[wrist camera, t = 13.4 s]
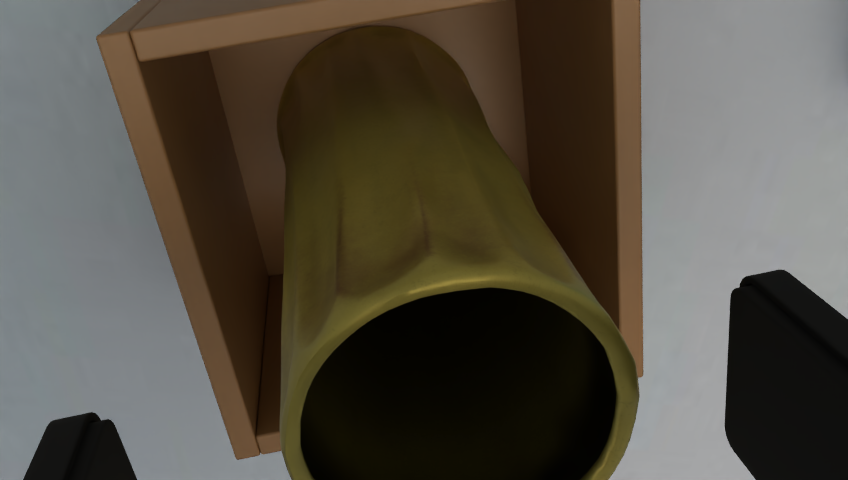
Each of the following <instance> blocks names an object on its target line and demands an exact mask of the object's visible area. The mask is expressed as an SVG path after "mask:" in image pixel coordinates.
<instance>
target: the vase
mask: <svg viewBox="0 0 848 480" xmlns="http://www.w3.org/2000/svg"><path fill="white" fill-rule="evenodd" d="M277 135H278V141H279V146H280V149H281V153H282V156H283V159H284V163H285V166H286V184H285V203H284V275H283V301H282V321H281V402H280V444H281V450H282V454H283V457H284V460H285V464H286V467H287V470H288V472H289V475H290V477H291V479H292V480H608V479H609V478H610V476H611V475H612V474H613V472H614V471H615V469H616V468H617V466H618V464H619V462H620V461H621V459H622V457H623V456H624V453H625V451H626V448H627V446H628V443H629V441H630V438H631V434H632V430H633V427H634V423H635V419H636V413H637V407H638V402H639V386H638V374H637V368H636V362H635V360H634V358H633V356H632V354H631V352H630V350H629V348H628V346H627V344H626V342H625V340H624V338H623V336H622V335H621V333H620V332H619V330H618V328H617V327H616V325H615V324H614V322H613V321H612V319H611V317H610V316H609V314H608V313H607V312H606V311H605V310H604V308H603V307H602V306H601V305H600V304H599V302H598V301H597V300H596V298H595V297H594V295H593V294H592V293H591V291H590V290H589V288H588V287H587V285H586V284H585V282H584V280H583V279H582V277H581V276H580V274H579V273H578V271H577V270H576V269H575V267H574V265H573V264H572V262H571V261H570V259H569V258H568V256H567V255H566V253H565V252H564V250H563V248H562V247H561V245H560V244H559V242H558V241H557V239H556V238H555V236H554V235H553V234H552V232H551V231H550V229H549V228H548V226H547V225H546V223H545V222H544V221H543V219H542V218H541V216H540V215H539V213H538V212H537V210H536V207H535V205H534V203H533V200H532V198H531V196H530V193H529V191H528V189H527V187H526V185H525V183H524V181H523V179H522V176H521V174H520V172H519V170H518V169H517V167H516V166H515V165H514V163H513V162H512V161H511V159H510V158H509V157H508V155H507V154H506V153H505V151H504V150H503V149H502V147H501V146H500V145H499V143H498V142H497V141H496V140H495V138H494V136H493V134H492V132H491V130H490V128H489V126H488V124H487V122H486V119H485V117H484V114H483V112H482V109H481V107H480V105H479V103H478V101H477V99H476V97H475V95H474V93H473V92H472V90H471V87H470V85H469V83H468V80H467V78H466V76H465V74H464V72H463V70H462V69H461V68H460V67H459V65H458V64H457V62H456V61H455V60H454V59H453V58H452V57H451V56H450V55H449V54H448V53H447V52H446V51H444V50H443V49H442V48H441V47H439V46H438V45H437V44H435V43H434V42H432V41H431V40H429V39H427V38H426V37H424V36H422V35H420V34H418V33H415V32H413V31H410V30H406V29H402V28H397V27H389V26H370V27H362V28H356V29H352V30H348V31H345V32H342V33H340V34H337V35H335V36H333V37H331V38H329V39H328V40H326V41H324V42H323V43H321V44H320V45H318V46H317V47H315V48H314V49H313V50H312V51H311V52H309V53H308V54H307V55H306V56H305V57H304V58H303V59H302V60H301V62H300V63H299V64H298V65H297V67H296V68H295V69H294V71H293V73H292V74H291V76H290V78H289V80H288V81H287V83H286V86H285V88H284V91H283V93H282V96H281V100H280V103H279V108H278V114H277Z"/></svg>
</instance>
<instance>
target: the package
mask: <svg viewBox="0 0 848 480" xmlns="http://www.w3.org/2000/svg"><path fill="white" fill-rule="evenodd" d="M370 26H389V27H397V28H402V29H406V30H410V31H413V32H415V33H418V34H420V35H422V36H424V37H426V38H427V39H429V40H431V41H432V42H434V43H435V44H437V45H438V46H439V47H441V48H442V49H443V50H444V51H446V52H447V53H448V54H449V55H450V56H451V57H452V58H453V59H454V60H455V61H456V62H457V64H458V65H459V67H460V68H461V69H462V70H463V72H464V74H465V76H466V78H467V80H468V83H469V85H470V87H471V90H472V92H473V93H474V95H475V97H476V99H477V101H478V103H479V105H480V107H481V109H482V112H483V114H484V117H485V119H486V122H487V124H488V126H489V128H490V130H491V132H492V134H493V136H494V138H495V140H496V141H497V142H498V143H499V145H500V146H501V147H502V149H503V150H504V151H505V153H506V154H507V155H508V157H509V158H510V159H511V161H512V162H513V163H514V165H515V166H516V167H517V169H518V170H519V172H520V174H521V176H522V179H523V181H524V183H525V185H526V187H527V189H528V191H529V193H530V196H531V198H532V200H533V203H534V205H535V207H536V210H537V212H538V213H539V215H540V216H541V218H542V219H543V221H544V222H545V223H546V225H547V226H548V228H549V229H550V231H551V232H552V234H553V235H554V236H555V238H556V239H557V241H558V242H559V244H560V245H561V247H562V248H563V250H564V252H565V253H566V255H567V256H568V258H569V259H570V261H571V262H572V264H573V265H574V267H575V269H576V270H577V271H578V273H579V274H580V276H581V277H582V279H583V280H584V282H585V284H586V285H587V287H588V288H589V290H590V291H591V293H592V294H593V295H594V297H595V298H596V300H597V301H598V302H599V304H600V305H601V306H602V307H603V308H604V310H605V311H606V312H607V313H608V314H609V316H610V317H611V319H612V321H613V322H614V324H615V325H616V327H617V328H618V330H619V332H620V333H621V335H622V336H623V338H624V340H625V342H626V344H627V346H628V348H629V350H630V352H631V354H632V356H633V358H634V360H635V362H636V368H637V374H638V378H639V377H642V376H643V297H642V171H641V45H640V0H140V1H139V2H138V3H136V4H135V5H134V6H133V7H132V8H130V9H129V10H128V11H127V12H126V13H124V14H123V15H122V16H121V17H119V18H118V19H117V20H116V21H115V22H113V23H112V24H111V25H110V26H109V27H107V28H106V29H105V30H104V31H103V32H101V33H100V34H99V35H98V36H97V37H96V40H97V43H98V46H99V49H100V52H101V55H102V58H103V61H104V64H105V67H106V70H107V73H108V76H109V79H110V82H111V85H112V88H113V91H114V94H115V97H116V100H117V103H118V106H119V109H120V112H121V115H122V118H123V121H124V124H125V127H126V130H127V133H128V136H129V139H130V142H131V145H132V148H133V151H134V154H135V157H136V160H137V163H138V166H139V169H140V172H141V175H142V178H143V181H144V184H145V187H146V190H147V193H148V196H149V199H150V202H151V205H152V208H153V211H154V214H155V217H156V220H157V223H158V226H159V229H160V232H161V235H162V238H163V241H164V244H165V247H166V250H167V253H168V256H169V259H170V262H171V265H172V268H173V271H174V274H175V277H176V280H177V283H178V286H179V289H180V292H181V295H182V298H183V301H184V304H185V307H186V310H187V313H188V316H189V319H190V322H191V325H192V328H193V331H194V334H195V337H196V340H197V343H198V346H199V349H200V352H201V355H202V358H203V361H204V364H205V367H206V370H207V373H208V376H209V379H210V382H211V385H212V388H213V391H214V394H215V397H216V400H217V403H218V406H219V409H220V412H221V415H222V418H223V421H224V424H225V427H226V430H227V433H228V436H229V439H230V442H231V445H232V448H233V451H234V454H235V457H236V459H237V460H239V459H244V458H249V457H254V456H258V455H260V452H261V454H267V453H272V452H277V451H282V450H281V444H280V402H281V321H282V301H283V275H284V203H285V184H286V166H285V163H284V159H283V156H282V153H281V149H280V146H279V141H278V135H277V114H278V108H279V103H280V100H281V96H282V93H283V91H284V88H285V86H286V83H287V81H288V80H289V78H290V76H291V74H292V73H293V71H294V69H295V68H296V67H297V65H298V64H299V63H300V62H301V60H302V59H303V58H304V57H305V56H306V55H307V54H308V53H309V52H311V51H312V50H313V49H314V48H315V47H317V46H318V45H320V44H321V43H323V42H324V41H326V40H328V39H329V38H331V37H333V36H335V35H337V34H340V33H342V32H345V31H348V30H352V29H356V28H362V27H370Z"/></svg>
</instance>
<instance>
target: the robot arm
mask: <svg viewBox="0 0 848 480" xmlns="http://www.w3.org/2000/svg"><path fill="white" fill-rule="evenodd" d="M725 431H726V436H727V439H728V441H729V444H730V446H731V447H732V449H733V451H734V452H735V453H736V454H737V456H738V457H739V458H740V460H741V461H742V462H743V464H744V465H745V466H746V467H747V469H748V470H749V471H750V473H751V474H752V475H753V476H754V478H755V479H756V480H848V319H847V318H845V317H844V316H843V315H842V314H840V313H839V312H838V311H836V310H835V309H834V308H833V307H831V306H830V305H829V304H828V303H826V302H825V301H824V300H823V299H821V298H820V297H819V296H818V295H816V294H815V293H814V292H812V291H811V290H810V289H809V288H807V287H806V286H805V285H804V284H802V283H801V282H800V281H799V280H797V279H796V278H795V277H794V276H792V275H791V274H790V273H788V272H787V271H785V270H775V271H771V272H766V273H761V274H756V275H751V276H746V277H745V278H743V279H742V281H741V283H740V288H736V289H734V290H733V291H732V293H731V299H730V321H729V343H728V365H727V387H726V409H725ZM23 480H137V478H136V476H135V473H134V471H133V468H132V466H131V464H130V461H129V459H128V456H127V454H126V451H125V449H124V446H123V444H122V442H121V439H120V437H119V434H118V432H117V429H116V427H115V425H114V423H113V422H112V421H111V420H109V419H107V420H102V421H101V420H100V418H99V417H98V415H97V414H96V413H92V412H91V413H86V414H81V415H76V416H72V417H67V418H62V419H57V420H53V421H51V422H50V423H49V425H48V426H47V428H46V430H45V432H44V434H43V437H42V439H41V441H40V443H39V446H38V448H37V450H36V452H35V454H34V457H33V459H32V461H31V463H30V466H29V468H28V470H27V472H26V474H25V477H24V479H23Z"/></svg>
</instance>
